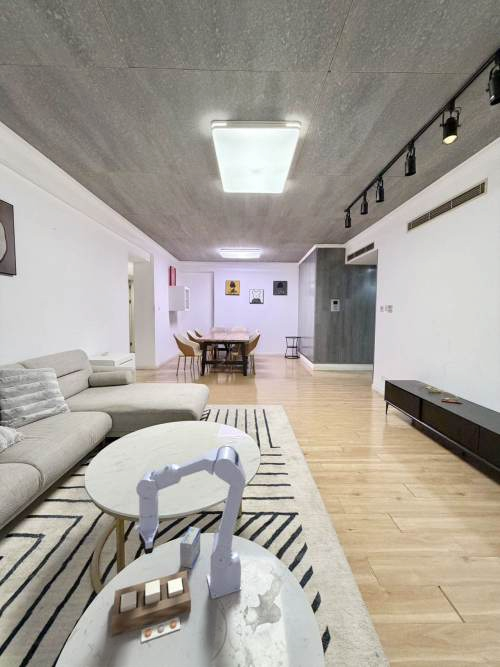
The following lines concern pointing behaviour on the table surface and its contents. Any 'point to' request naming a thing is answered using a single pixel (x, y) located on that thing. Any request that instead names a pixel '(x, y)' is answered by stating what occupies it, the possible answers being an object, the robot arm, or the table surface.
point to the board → (150, 605)
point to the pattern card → (160, 629)
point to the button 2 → (175, 587)
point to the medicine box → (190, 547)
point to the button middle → (152, 592)
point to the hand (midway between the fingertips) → (148, 552)
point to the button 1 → (128, 601)
